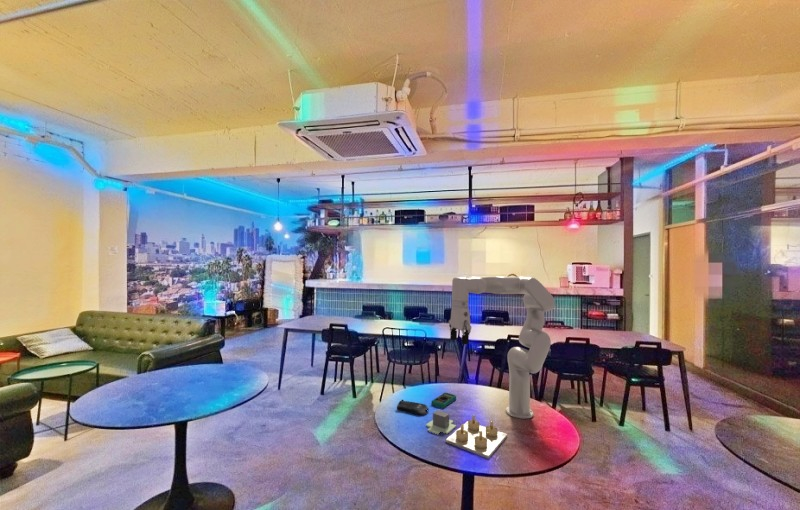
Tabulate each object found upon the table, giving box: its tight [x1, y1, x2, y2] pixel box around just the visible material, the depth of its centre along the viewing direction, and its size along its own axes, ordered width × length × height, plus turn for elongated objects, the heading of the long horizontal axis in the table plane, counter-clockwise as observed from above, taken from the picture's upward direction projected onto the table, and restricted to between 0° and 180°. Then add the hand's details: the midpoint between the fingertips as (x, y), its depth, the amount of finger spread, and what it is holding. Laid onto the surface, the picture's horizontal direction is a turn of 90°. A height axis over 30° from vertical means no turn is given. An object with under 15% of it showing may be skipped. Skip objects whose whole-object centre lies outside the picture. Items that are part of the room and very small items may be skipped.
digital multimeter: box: [431, 392, 457, 409], centre depth 171 cm, size 7×15×3 cm, turn 144°
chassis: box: [445, 414, 508, 459], centre depth 135 cm, size 20×18×7 cm
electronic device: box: [396, 399, 430, 416], centre depth 161 cm, size 9×6×15 cm
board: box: [425, 409, 457, 436], centre depth 145 cm, size 14×11×6 cm
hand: (459, 341), depth 150 cm, fingers open, 9 cm apart
